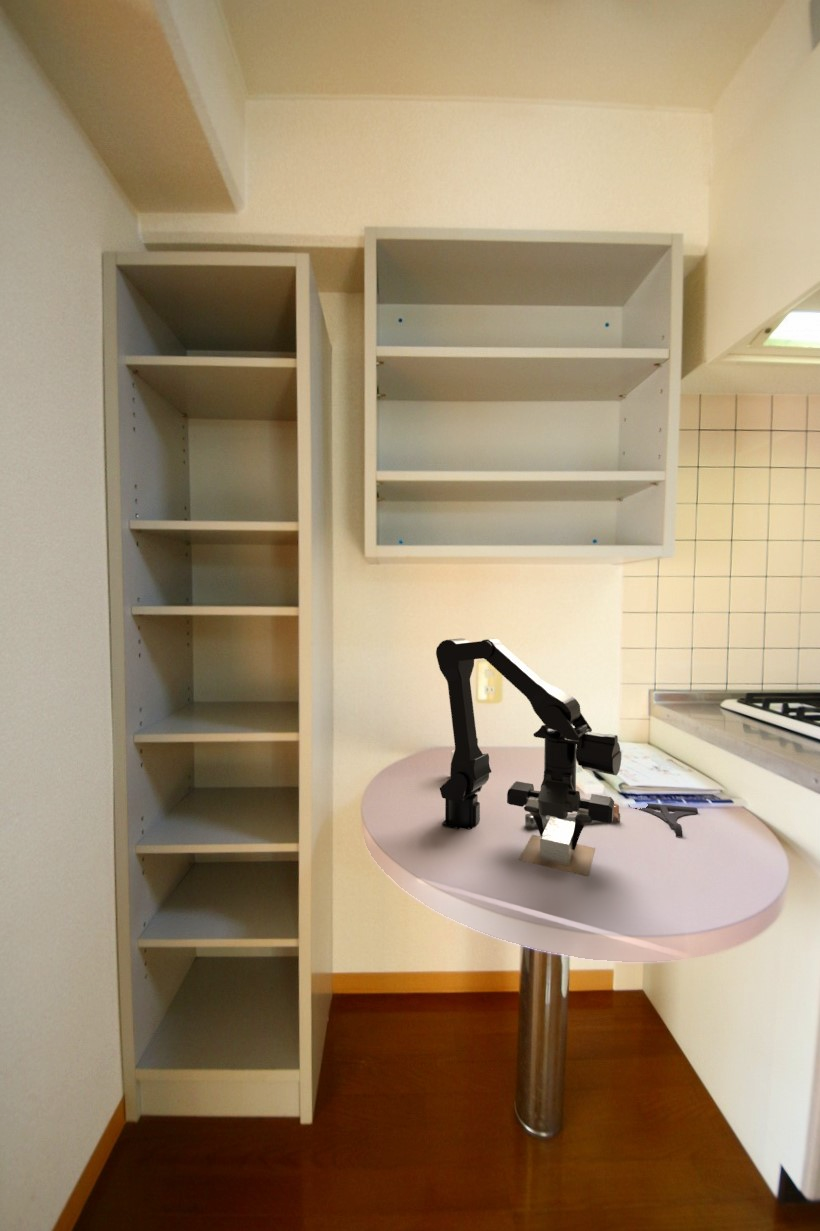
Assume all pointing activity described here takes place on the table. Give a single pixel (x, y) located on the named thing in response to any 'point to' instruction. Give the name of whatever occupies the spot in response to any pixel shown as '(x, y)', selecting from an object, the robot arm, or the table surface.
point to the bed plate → (577, 864)
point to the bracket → (670, 814)
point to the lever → (568, 818)
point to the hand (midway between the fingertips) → (558, 845)
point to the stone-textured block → (557, 842)
